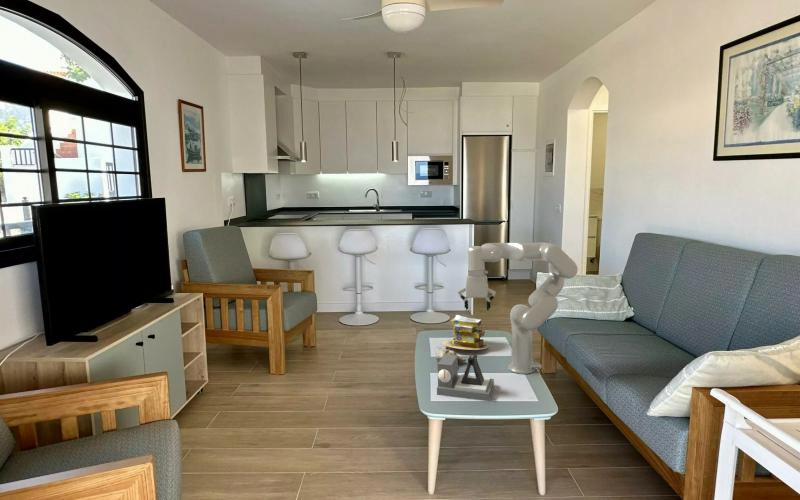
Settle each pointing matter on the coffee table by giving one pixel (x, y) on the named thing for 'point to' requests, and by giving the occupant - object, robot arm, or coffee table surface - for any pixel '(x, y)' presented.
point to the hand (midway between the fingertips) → (477, 309)
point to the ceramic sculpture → (447, 351)
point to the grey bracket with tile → (452, 381)
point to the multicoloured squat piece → (466, 334)
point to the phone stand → (478, 373)
